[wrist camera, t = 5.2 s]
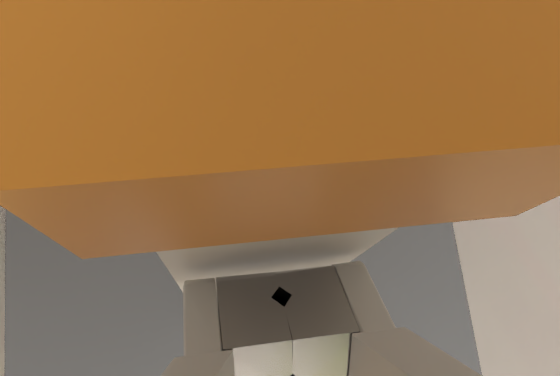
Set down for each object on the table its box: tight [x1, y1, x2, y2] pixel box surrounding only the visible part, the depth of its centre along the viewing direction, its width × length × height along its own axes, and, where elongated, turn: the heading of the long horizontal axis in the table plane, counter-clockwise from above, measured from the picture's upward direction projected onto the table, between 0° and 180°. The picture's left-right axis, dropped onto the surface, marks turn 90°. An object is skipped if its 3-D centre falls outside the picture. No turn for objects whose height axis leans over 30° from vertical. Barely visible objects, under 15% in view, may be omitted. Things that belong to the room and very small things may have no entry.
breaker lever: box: [0, 0, 560, 302], centre depth 9 cm, size 2×4×13 cm, turn 96°
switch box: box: [5, 209, 482, 376], centre depth 19 cm, size 18×14×6 cm
